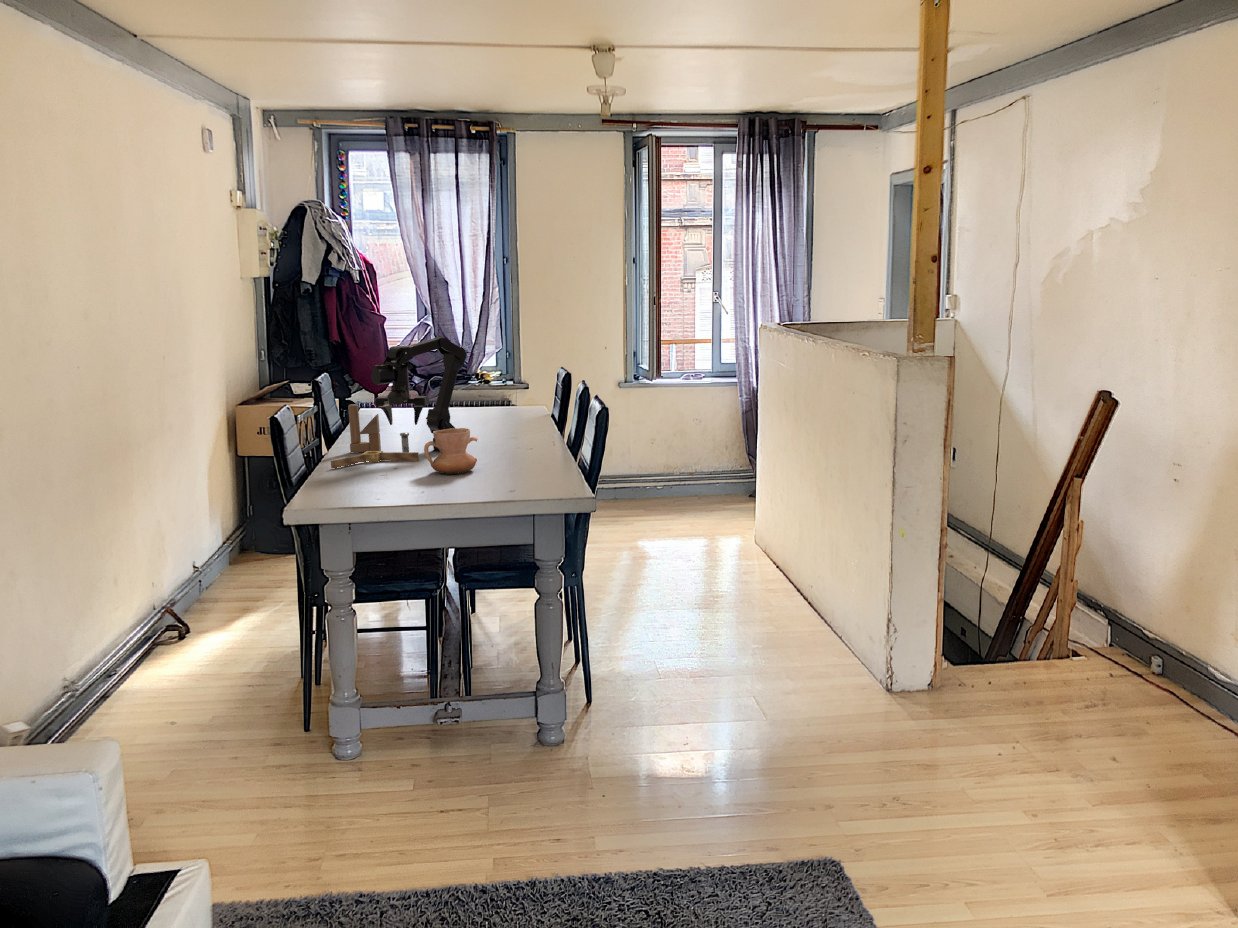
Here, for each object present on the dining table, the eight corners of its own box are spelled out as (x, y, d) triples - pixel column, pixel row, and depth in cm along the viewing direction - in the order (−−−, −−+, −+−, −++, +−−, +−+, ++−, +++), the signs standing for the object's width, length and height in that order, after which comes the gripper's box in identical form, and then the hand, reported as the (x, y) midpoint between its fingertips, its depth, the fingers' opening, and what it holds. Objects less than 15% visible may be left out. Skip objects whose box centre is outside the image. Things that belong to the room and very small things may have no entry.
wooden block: (379, 452, 381) (375, 404, 377) (350, 453, 380) (346, 405, 377) (381, 450, 384) (377, 403, 381) (352, 451, 384) (348, 404, 380)
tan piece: (421, 459, 365) (420, 451, 365) (404, 469, 347) (403, 461, 347) (351, 459, 369) (350, 451, 368) (330, 469, 351) (330, 461, 350)
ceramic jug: (476, 466, 351) (473, 425, 348) (483, 473, 337) (480, 431, 335) (423, 471, 346) (420, 430, 343) (428, 479, 332) (424, 436, 330)
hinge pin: (411, 456, 372) (410, 432, 370) (408, 458, 368) (407, 434, 367) (403, 456, 372) (401, 432, 370) (400, 458, 369) (398, 434, 367)
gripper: (367, 384, 358) (370, 428, 361) (418, 384, 356) (421, 428, 359) (378, 381, 369) (381, 423, 372) (428, 380, 366) (431, 423, 370)
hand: (403, 424), depth 368 cm, fingers open, 9 cm apart
